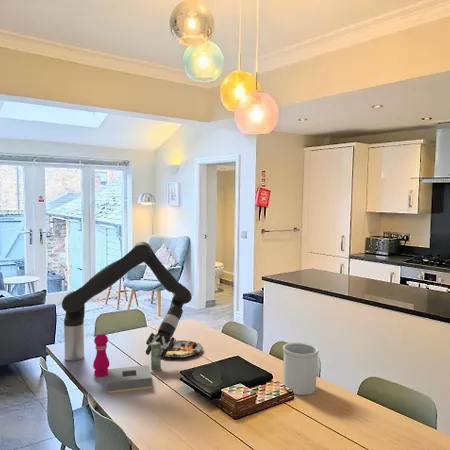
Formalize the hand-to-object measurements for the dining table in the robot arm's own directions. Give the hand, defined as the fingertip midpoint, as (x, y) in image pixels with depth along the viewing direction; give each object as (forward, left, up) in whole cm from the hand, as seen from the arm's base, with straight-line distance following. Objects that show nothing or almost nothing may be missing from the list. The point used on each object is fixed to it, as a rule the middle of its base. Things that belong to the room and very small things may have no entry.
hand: (154, 356), depth 196 cm
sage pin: (-1, +1, -6) cm, 7 cm away
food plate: (-20, +15, -7) cm, 26 cm away
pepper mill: (-1, -24, -7) cm, 25 cm away
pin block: (+12, -12, -6) cm, 18 cm away
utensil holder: (+35, +58, -7) cm, 68 cm away
